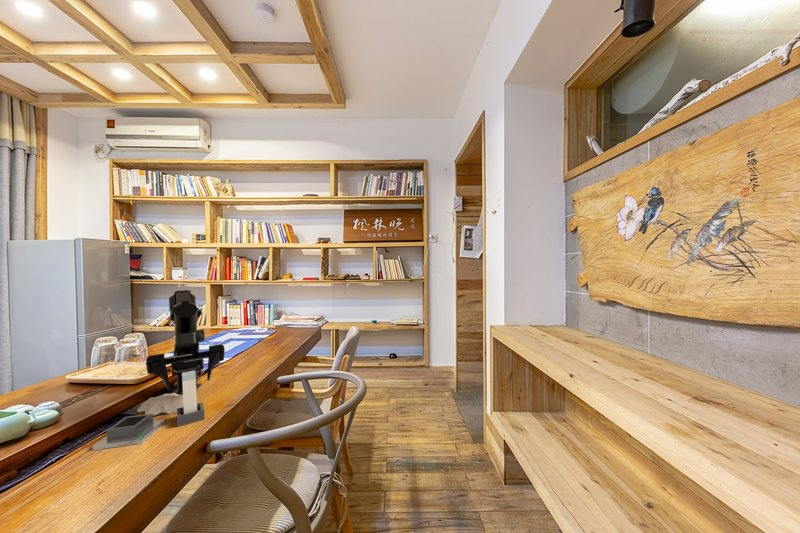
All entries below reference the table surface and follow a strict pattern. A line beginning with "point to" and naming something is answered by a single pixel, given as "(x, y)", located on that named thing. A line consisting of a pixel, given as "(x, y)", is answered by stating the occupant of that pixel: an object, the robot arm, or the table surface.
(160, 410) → the decorative stone
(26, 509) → the table surface
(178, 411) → the grey hollow square frame
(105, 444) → the port
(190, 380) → the plug
